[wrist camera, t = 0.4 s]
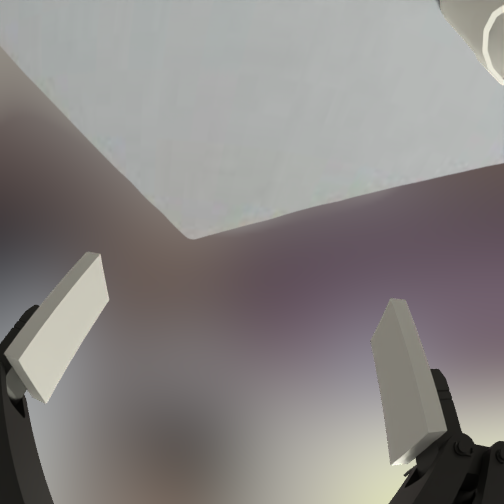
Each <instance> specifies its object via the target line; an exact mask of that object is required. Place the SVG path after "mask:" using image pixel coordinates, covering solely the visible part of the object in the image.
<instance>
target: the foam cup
mask: <svg viewBox="0 0 504 504" xmlns="http://www.w3.org/2000/svg"><path fill="white" fill-rule="evenodd" d="M440 10H441V12H442V14H443V16H444V18H445V20H446V21H447V22H448V23H449V24H450V25H451V26H452V27H453V29H454V30H455V31H456V32H457V33H458V34H459V35H460V37H461V38H462V39H463V40H464V41H465V42H466V44H467V45H468V46H469V47H470V48H471V50H472V51H473V52H474V53H475V55H476V58H477V60H478V61H479V62H480V63H481V64H482V65H483V66H484V67H485V68H486V70H487V71H488V72H489V73H490V74H491V75H492V76H493V77H494V78H495V79H496V80H497V81H498V82H499V83H500V84H501V85H504V0H440Z"/></svg>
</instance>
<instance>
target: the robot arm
mask: <svg viewBox="0 0 504 504" xmlns="http://www.w3.org/2000/svg"><path fill="white" fill-rule="evenodd" d="M108 301H109V297H108V292H107V287H106V282H105V277H104V272H103V266H102V261H101V255H100V254H97V253H92V252H86V253H85V254H84V255H83V257H82V258H81V259H80V260H79V261H78V262H77V263H76V264H75V265H74V266H73V268H72V269H71V270H70V271H69V272H68V273H67V275H66V276H65V277H64V278H63V279H62V280H61V281H60V283H59V284H58V285H57V286H56V287H55V288H54V290H53V291H52V292H51V293H50V294H49V296H48V297H47V298H46V299H45V300H44V302H43V303H42V304H41V305H40V306H38V305H34V306H32V307H31V308H30V309H28V310H27V311H25V313H24V314H23V315H22V316H21V318H20V319H19V321H18V322H17V323H16V324H15V325H14V328H12V329H11V331H10V332H9V333H8V335H7V336H6V337H5V338H4V340H3V341H2V342H1V344H0V504H54V503H53V500H52V497H51V495H50V492H49V489H48V486H47V483H46V480H45V476H44V473H43V470H42V467H41V463H40V459H39V456H38V453H37V448H36V444H35V440H34V436H33V432H32V427H31V422H30V418H29V412H28V407H27V401H26V398H25V395H24V393H25V392H26V390H28V391H29V393H30V394H31V396H32V397H33V398H35V399H37V400H39V401H41V402H43V403H46V404H47V402H48V400H49V398H50V396H51V395H52V393H53V391H54V389H55V387H56V386H57V384H58V382H59V380H60V379H61V377H62V375H63V373H64V372H65V370H66V368H67V367H68V365H69V363H70V361H71V360H72V358H73V356H74V355H75V353H76V351H77V350H78V348H79V346H80V345H81V343H82V342H83V340H84V338H85V337H86V335H87V333H88V332H89V330H90V329H91V327H92V326H93V324H94V322H95V321H96V319H97V318H98V316H99V315H100V313H101V312H102V310H103V309H104V307H105V305H106V304H107V302H108ZM370 342H371V347H372V351H373V357H374V362H375V367H376V372H377V377H378V383H379V388H380V394H381V400H382V406H383V412H384V419H385V426H386V433H387V441H388V449H389V457H390V465H401V464H408V463H409V462H411V461H412V460H413V459H415V458H416V463H417V465H416V466H414V467H413V468H412V469H410V470H409V471H407V472H406V473H405V474H404V476H405V477H406V476H407V475H408V474H409V475H408V477H407V478H406V480H405V481H404V483H403V484H402V486H401V487H400V489H399V490H398V492H397V493H396V494H395V496H394V497H393V498H392V500H391V501H390V503H389V504H504V441H498V442H496V443H495V444H493V445H492V446H491V447H485V446H481V445H476V444H474V442H473V441H472V439H471V438H470V437H469V436H468V435H466V434H464V433H462V431H461V428H460V424H459V421H458V417H457V413H456V410H455V407H454V403H453V401H452V396H451V393H450V392H449V387H448V384H447V381H446V378H445V377H444V376H443V374H442V373H441V372H440V370H439V369H430V367H429V364H428V361H427V358H426V355H425V352H424V349H423V346H422V343H421V341H420V338H419V335H418V332H417V329H416V327H415V324H414V321H413V319H412V316H411V313H410V311H409V308H408V305H407V303H406V300H402V299H393V298H390V301H389V303H388V305H387V307H386V309H385V312H384V314H383V316H382V318H381V320H380V322H379V325H378V326H377V328H376V331H375V333H374V335H373V337H372V339H371V341H370Z"/></svg>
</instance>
